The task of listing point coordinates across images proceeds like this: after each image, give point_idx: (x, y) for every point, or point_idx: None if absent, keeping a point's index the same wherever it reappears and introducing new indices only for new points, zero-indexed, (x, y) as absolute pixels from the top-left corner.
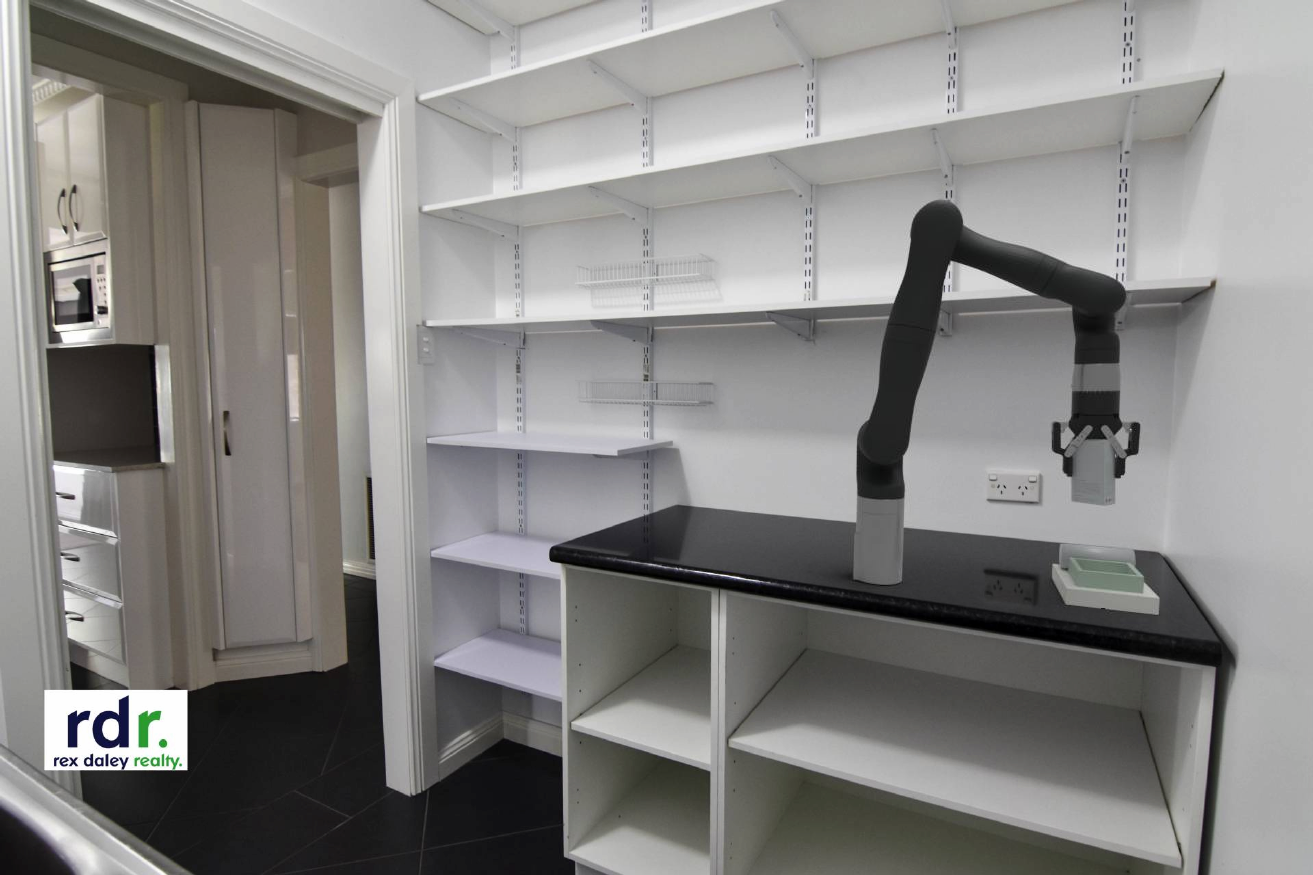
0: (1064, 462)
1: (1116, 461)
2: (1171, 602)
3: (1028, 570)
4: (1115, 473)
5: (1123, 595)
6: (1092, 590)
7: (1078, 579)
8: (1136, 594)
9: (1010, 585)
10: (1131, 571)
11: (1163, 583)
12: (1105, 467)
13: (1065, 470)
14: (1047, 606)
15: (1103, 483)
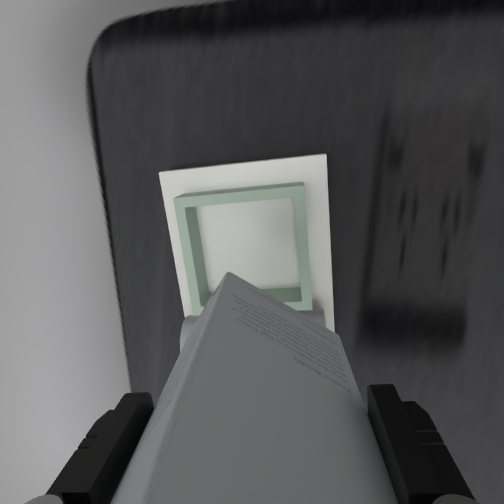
0: (451, 465)
1: (104, 484)
2: (147, 264)
3: (371, 370)
4: (144, 427)
5: (219, 166)
6: (275, 164)
7: (301, 183)
8: (196, 178)
9: (420, 243)
10: (194, 259)
11: (153, 377)
12: (181, 375)
13: (417, 418)
14: (360, 118)
15: (214, 311)
